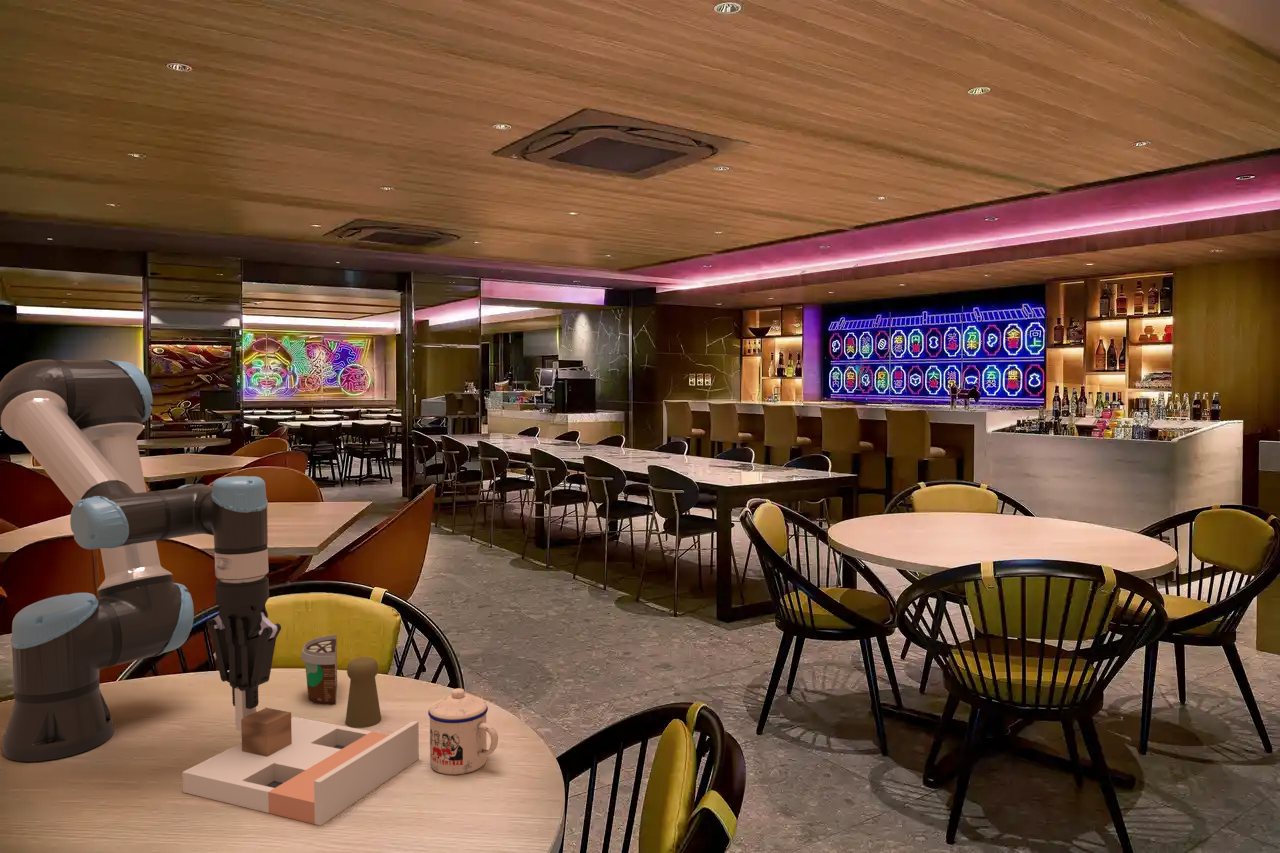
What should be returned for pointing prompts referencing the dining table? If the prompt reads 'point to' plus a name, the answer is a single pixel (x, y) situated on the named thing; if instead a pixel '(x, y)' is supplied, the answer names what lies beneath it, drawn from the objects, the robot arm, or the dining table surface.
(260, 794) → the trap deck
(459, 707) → the teacup with lid
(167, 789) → the dining table surface
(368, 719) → the cork
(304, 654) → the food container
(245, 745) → the walnut block
